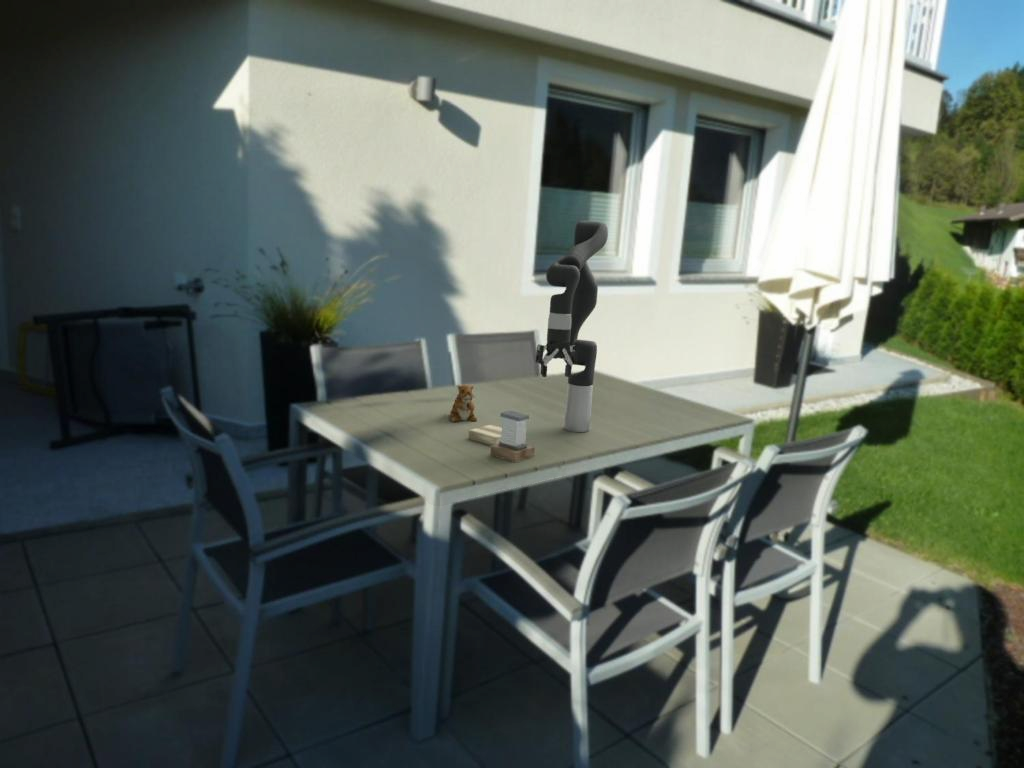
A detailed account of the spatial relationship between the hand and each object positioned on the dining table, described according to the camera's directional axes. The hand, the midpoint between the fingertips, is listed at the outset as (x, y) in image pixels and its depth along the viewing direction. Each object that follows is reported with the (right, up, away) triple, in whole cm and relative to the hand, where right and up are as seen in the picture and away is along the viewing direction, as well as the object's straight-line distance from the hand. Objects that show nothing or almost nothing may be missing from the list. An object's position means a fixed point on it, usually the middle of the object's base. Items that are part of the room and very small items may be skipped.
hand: (555, 376), depth 247 cm
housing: (-14, -23, -4) cm, 27 cm away
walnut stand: (-14, -25, -3) cm, 29 cm away
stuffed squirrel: (-33, -15, +39) cm, 54 cm away
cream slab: (-21, -21, +14) cm, 33 cm away
